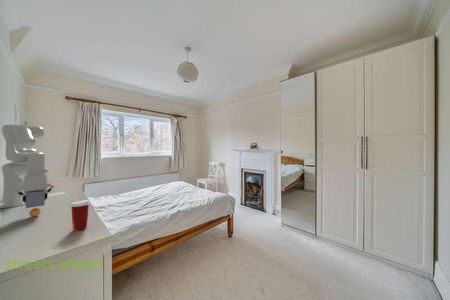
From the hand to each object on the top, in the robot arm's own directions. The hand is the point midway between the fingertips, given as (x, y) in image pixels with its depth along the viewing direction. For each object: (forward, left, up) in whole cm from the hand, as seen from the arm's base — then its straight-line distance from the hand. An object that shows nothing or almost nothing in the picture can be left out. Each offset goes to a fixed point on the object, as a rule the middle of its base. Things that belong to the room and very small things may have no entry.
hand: (35, 200), depth 110 cm
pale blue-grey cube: (0, 0, -3) cm, 3 cm away
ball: (0, 0, -7) cm, 7 cm away
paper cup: (+42, +16, -10) cm, 46 cm away
